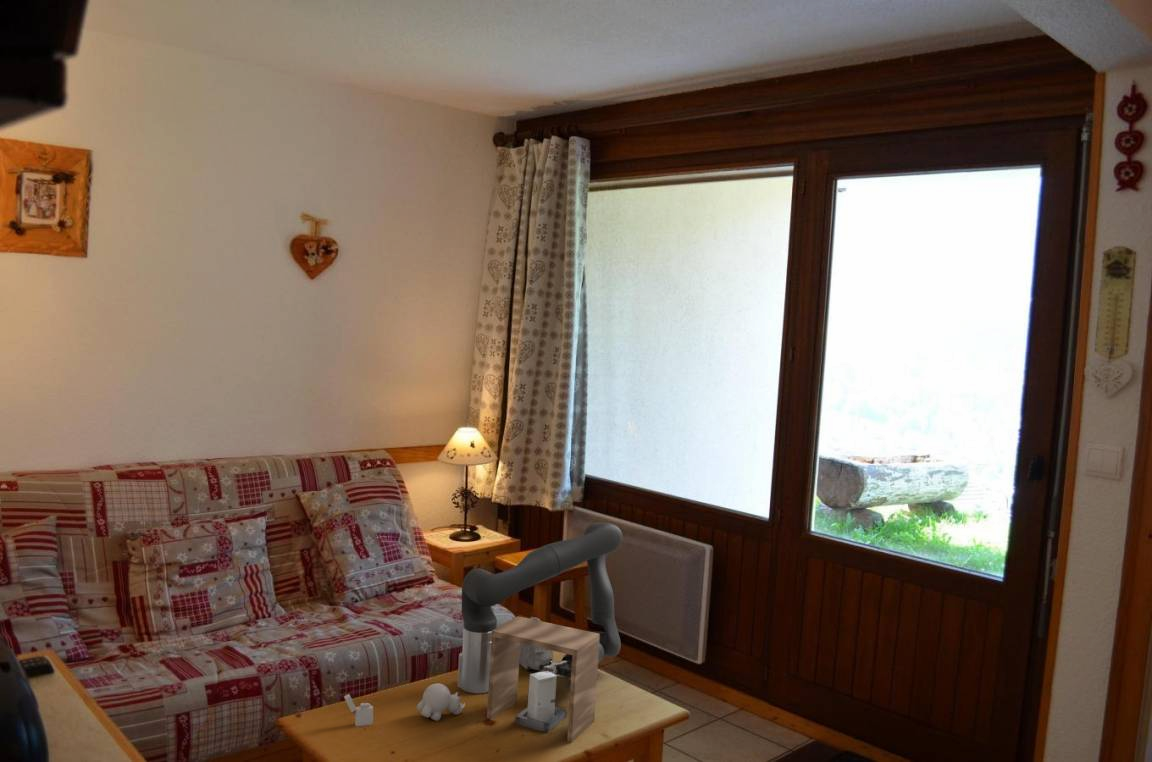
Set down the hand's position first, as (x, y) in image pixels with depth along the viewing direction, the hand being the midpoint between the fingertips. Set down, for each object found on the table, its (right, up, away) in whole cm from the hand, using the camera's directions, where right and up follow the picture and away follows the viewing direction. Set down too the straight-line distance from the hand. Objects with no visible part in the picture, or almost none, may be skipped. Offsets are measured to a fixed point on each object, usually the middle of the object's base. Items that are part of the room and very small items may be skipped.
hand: (554, 680), depth 238 cm
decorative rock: (-7, -6, +30) cm, 32 cm away
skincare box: (-3, -9, -5) cm, 11 cm away
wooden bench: (-3, -9, -6) cm, 11 cm away
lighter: (-49, -7, -14) cm, 52 cm away
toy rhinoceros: (-29, -7, -7) cm, 31 cm away
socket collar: (-3, -9, -6) cm, 11 cm away
